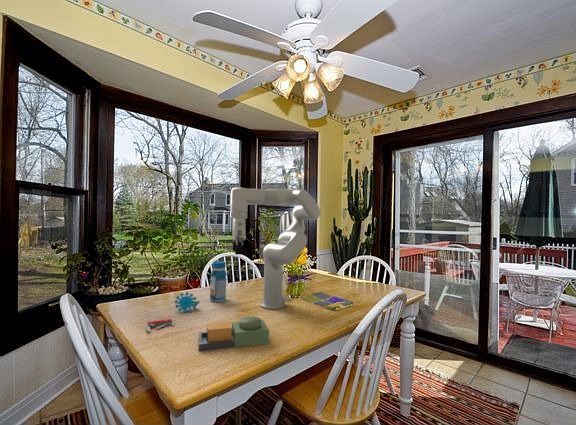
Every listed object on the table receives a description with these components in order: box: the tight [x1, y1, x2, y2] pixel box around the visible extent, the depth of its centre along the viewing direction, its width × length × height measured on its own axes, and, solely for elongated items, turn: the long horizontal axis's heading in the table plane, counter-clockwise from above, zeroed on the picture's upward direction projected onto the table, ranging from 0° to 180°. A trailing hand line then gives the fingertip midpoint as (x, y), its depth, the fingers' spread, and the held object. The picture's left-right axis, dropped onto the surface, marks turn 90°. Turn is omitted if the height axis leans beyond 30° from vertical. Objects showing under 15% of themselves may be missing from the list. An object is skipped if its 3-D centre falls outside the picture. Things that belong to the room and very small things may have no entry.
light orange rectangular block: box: [206, 321, 232, 342], centre depth 103 cm, size 8×6×5 cm
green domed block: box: [231, 316, 270, 348], centre depth 107 cm, size 12×10×7 cm
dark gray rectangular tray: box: [197, 331, 236, 352], centre depth 103 cm, size 12×10×2 cm
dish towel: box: [301, 291, 354, 311], centre depth 155 cm, size 18×24×3 cm
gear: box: [174, 292, 201, 313], centre depth 136 cm, size 11×6×10 cm
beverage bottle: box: [209, 260, 228, 303], centre depth 153 cm, size 8×8×20 cm
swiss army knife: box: [146, 317, 178, 332], centre depth 117 cm, size 12×14×2 cm
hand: (237, 252), depth 131 cm, fingers open, 9 cm apart
